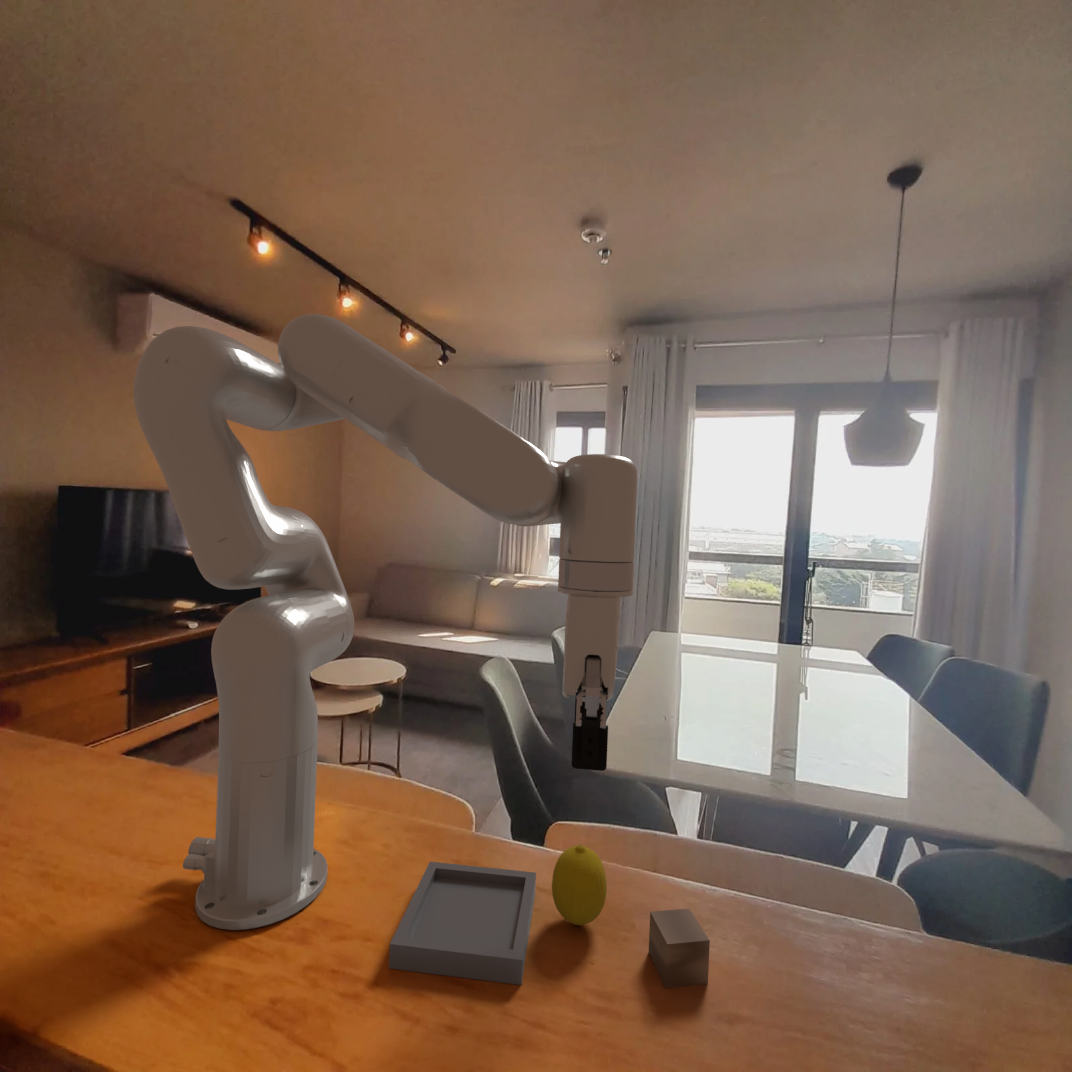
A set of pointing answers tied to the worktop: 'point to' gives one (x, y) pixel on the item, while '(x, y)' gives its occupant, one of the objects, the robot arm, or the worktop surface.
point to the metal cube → (678, 948)
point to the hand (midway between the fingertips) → (588, 747)
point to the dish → (467, 923)
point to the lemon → (579, 885)
